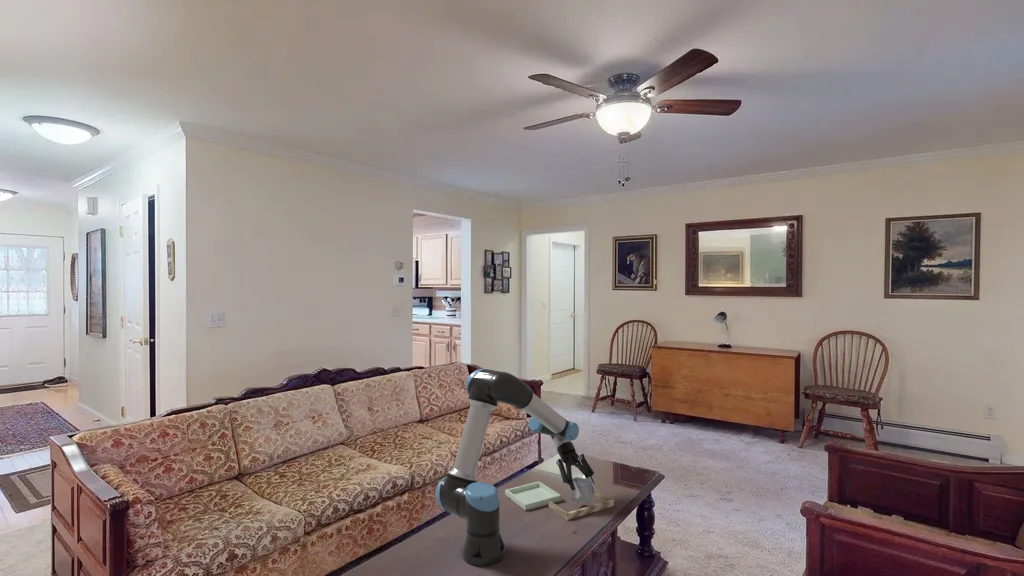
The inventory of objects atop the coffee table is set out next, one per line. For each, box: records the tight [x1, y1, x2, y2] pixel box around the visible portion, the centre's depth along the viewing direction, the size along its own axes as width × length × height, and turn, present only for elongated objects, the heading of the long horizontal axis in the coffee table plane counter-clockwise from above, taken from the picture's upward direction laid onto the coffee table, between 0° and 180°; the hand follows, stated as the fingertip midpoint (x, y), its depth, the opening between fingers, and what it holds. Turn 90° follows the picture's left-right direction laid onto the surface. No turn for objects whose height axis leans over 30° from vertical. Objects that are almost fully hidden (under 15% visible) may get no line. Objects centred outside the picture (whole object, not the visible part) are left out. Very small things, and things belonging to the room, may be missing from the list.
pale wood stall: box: [548, 490, 615, 521], centre depth 209 cm, size 24×14×2 cm, turn 119°
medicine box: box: [571, 476, 594, 505], centre depth 209 cm, size 8×4×9 cm, turn 57°
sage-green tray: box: [504, 481, 562, 512], centre depth 219 cm, size 18×18×2 cm
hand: (587, 494), depth 206 cm, fingers closed on medicine box, 7 cm apart
